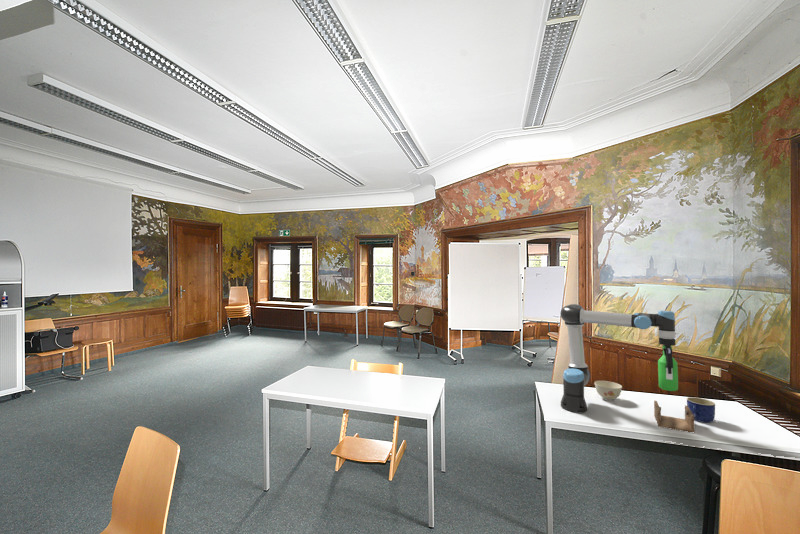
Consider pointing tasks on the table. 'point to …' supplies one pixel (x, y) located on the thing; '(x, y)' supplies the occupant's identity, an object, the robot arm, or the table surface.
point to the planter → (701, 409)
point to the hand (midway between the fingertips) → (667, 377)
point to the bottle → (663, 382)
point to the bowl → (608, 389)
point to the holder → (674, 420)
